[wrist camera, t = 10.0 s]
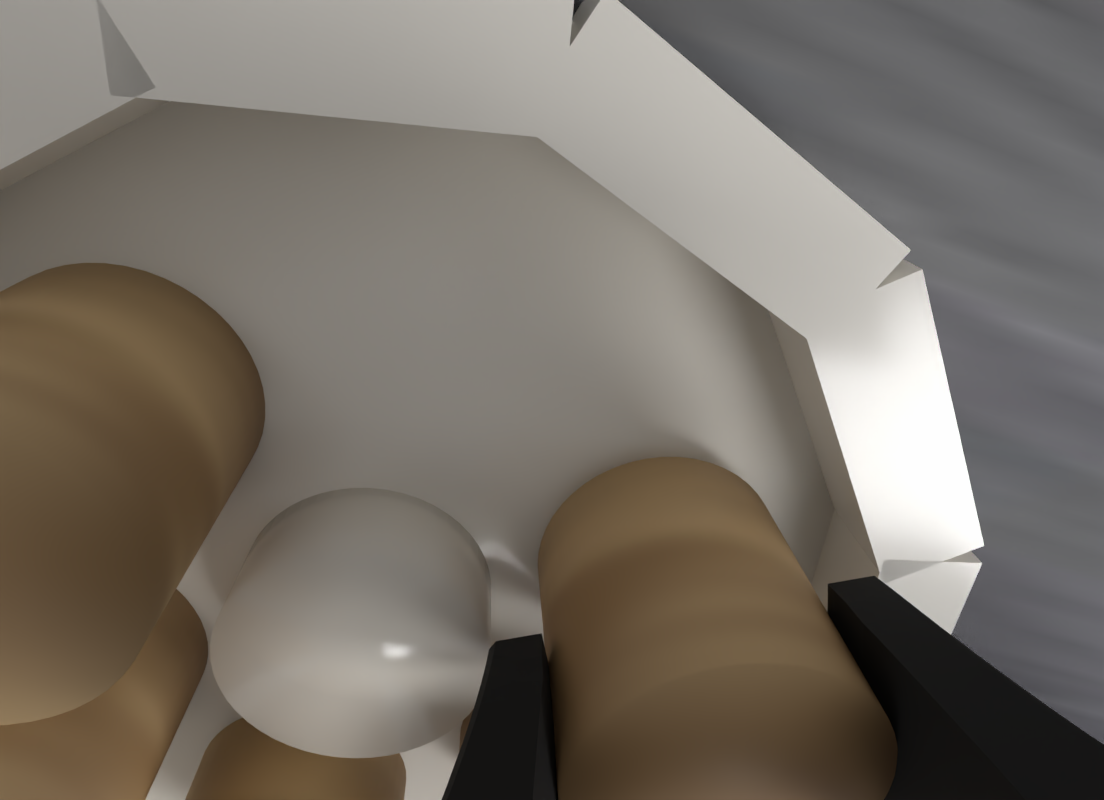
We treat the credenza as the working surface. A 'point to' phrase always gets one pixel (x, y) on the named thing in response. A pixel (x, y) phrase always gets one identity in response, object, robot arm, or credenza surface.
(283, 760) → the seated bead
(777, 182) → the tray
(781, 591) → the bead
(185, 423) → the seated bead
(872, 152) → the credenza surface
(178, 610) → the seated bead
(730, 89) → the credenza surface
